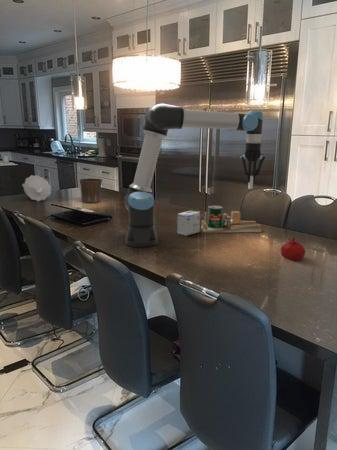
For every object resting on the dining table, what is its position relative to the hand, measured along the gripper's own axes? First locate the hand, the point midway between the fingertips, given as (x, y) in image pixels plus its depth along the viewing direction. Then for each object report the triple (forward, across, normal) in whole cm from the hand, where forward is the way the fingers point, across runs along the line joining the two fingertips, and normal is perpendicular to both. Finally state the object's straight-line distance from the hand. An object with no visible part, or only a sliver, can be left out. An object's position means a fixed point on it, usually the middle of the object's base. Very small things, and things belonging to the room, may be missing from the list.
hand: (250, 188), depth 195 cm
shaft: (+21, +9, 0) cm, 23 cm away
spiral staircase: (+23, +132, -94) cm, 164 cm away
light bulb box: (+23, +33, +4) cm, 40 cm away
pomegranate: (+23, -5, +46) cm, 52 cm away
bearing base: (+22, +9, 0) cm, 24 cm away
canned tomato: (+21, +18, 0) cm, 28 cm away
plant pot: (+23, +91, -82) cm, 125 cm away
